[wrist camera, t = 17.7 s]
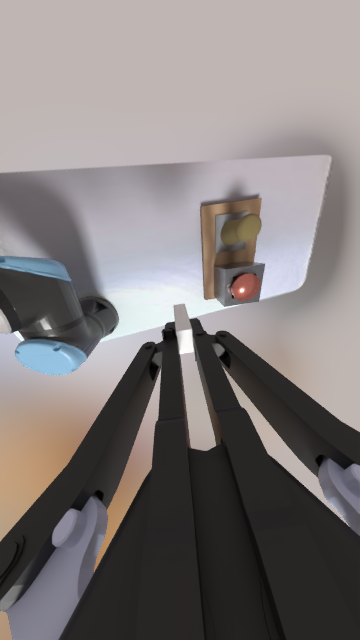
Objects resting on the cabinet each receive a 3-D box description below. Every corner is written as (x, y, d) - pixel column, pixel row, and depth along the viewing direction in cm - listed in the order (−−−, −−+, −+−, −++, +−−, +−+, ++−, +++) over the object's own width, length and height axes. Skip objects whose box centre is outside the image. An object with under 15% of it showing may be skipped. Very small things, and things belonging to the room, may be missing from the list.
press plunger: (220, 293, 43) (232, 302, 35) (220, 270, 40) (234, 276, 32) (241, 290, 43) (258, 299, 35) (243, 267, 40) (262, 271, 32)
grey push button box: (213, 296, 46) (224, 306, 37) (213, 265, 42) (225, 269, 33) (241, 291, 46) (258, 301, 38) (244, 261, 42) (265, 263, 33)
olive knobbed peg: (241, 218, 36) (268, 205, 26) (241, 243, 39) (265, 240, 29) (219, 222, 36) (238, 212, 26) (220, 247, 39) (237, 246, 29)
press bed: (204, 298, 49) (205, 300, 46) (200, 208, 36) (202, 205, 34) (246, 291, 49) (250, 293, 46) (257, 200, 36) (263, 196, 34)
